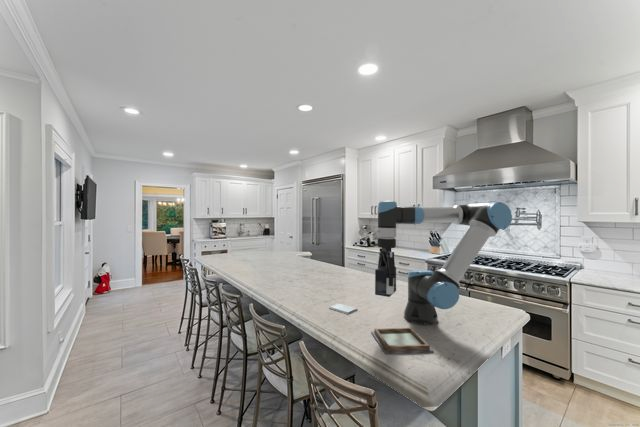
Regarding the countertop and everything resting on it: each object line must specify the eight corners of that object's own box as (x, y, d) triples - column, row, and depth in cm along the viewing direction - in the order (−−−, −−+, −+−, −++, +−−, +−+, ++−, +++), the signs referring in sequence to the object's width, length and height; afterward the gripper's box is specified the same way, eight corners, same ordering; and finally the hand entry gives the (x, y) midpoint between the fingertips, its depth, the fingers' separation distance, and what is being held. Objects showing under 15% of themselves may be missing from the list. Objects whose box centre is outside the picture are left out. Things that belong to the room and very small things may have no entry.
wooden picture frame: (412, 331, 119) (412, 326, 119) (433, 352, 101) (433, 346, 101) (371, 332, 117) (371, 327, 117) (385, 354, 99) (385, 348, 99)
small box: (381, 288, 123) (382, 265, 123) (396, 291, 119) (397, 266, 119) (374, 294, 113) (374, 269, 113) (389, 297, 110) (390, 270, 110)
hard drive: (357, 308, 144) (338, 302, 152) (348, 312, 138) (329, 306, 146) (357, 311, 144) (338, 305, 152) (348, 315, 138) (329, 309, 146)
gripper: (371, 235, 128) (370, 282, 128) (385, 240, 104) (384, 298, 104) (387, 235, 128) (387, 282, 128) (405, 240, 104) (404, 298, 104)
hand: (385, 289), depth 116 cm, fingers closed on small box, 12 cm apart
